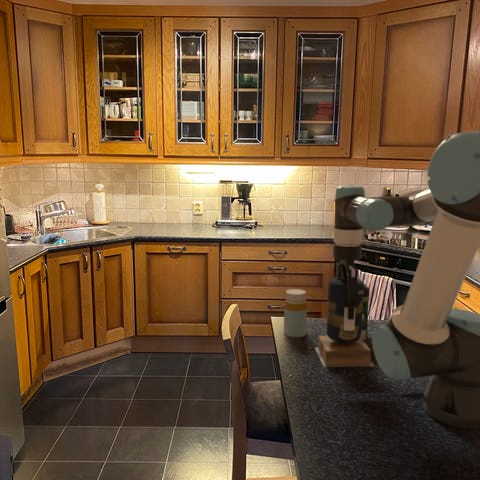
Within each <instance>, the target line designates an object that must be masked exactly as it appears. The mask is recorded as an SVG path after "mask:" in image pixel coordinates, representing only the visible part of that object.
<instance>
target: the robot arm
mask: <svg viewBox="0 0 480 480" xmlns="http://www.w3.org/2000/svg"><path fill="white" fill-rule="evenodd" d="M427 177H429V179H428V180H427V187H428V189H425V190H422V191H421V192H418V193H416V194H413V195H403V196H396V195H395V196H367V195H366V193H365V188H364V187H363V186H360V185H340V186H338V187H337V188H336V189H335V195H334V196H335V198H334V221H333V223H334V224H333V225H334V226H333V241H332V242H333V243H334V244H333V246H332V250H333V251H332V252H333V253H332V257H333V258H334V259H336V260H335V261H336V268H335V277H342V282H344V283H345V285H347V289H348V290H346V298H345V299H346V305H343V307H344V308H345V311H344V330H355V308H356V307H358V279H359V277H358V276H359V269H358V268H357V267H356V265H355V262H356V261H359V260H361V259H362V255H363V253H362V252H363V246H362V243H363V236H364V235H365V231H364V229H367V230H370V231H373V230H374V231H383V230H385V229H386V228H396V227H413V226H414V227H415V226H418V227H425V226H428V225H429V226H430V225H432V226H431V229H430V232H429V234H428V236H427V240H426V243H425V246H424V248H423V251H422V254H421V255H420V259H419V261H418V264H417V267H416V270H415V273H414V275H413V278H412V281H411V284H410V287H409V289H408V291H407V295H406V298H405V300H404V303H403V304H402V305H399V306H397V307H396V308H394V310H392V313H391V316H390V319H389V322H388V323H381V324H378V325H377V326H375V328H374V329H373V331H372V334H371V335H372V337H371V343H372V350H373V353H374V358H375V360H376V362H377V365H378V367H379V368H380V370H381V371H382V372H383V374H384V375H385V376H387V378H389V379H392V380H395V381H397V380H398V381H399V380H406V381H407V380H411V379H417V378H423V377H424V378H425V377H430V376H432V377H431V379H430V381H429V384H428V385H427V388H426V390H425V391H424V394H423V402H422V406H423V409H424V411H425V412H426V413H427V414H428V415H429V416H431V417H432V418H433V419H435V420H437V421H439V422H441V423H442V424H446V425H448V426H452V427H454V428H455V427H456V428H460V429H465V430H480V313H477V312H474V311H470V310H465V309H460V308H454V304H455V303H456V300H457V298H458V295H459V293H460V290H461V289H462V286H463V283H464V281H465V279H466V278H467V275H468V272H469V270H470V268H471V266H472V263H473V261H474V259H475V258H476V257H475V256H476V255H477V252H478V250H479V247H480V130H477V129H476V130H472V131H463V132H462V131H461V132H457V133H454V134H453V135H451V136H448V137H447V138H445V139H444V140H443V141H442V142H441V143H440V144H439V145H438V146H437V147H436V149H434V152H433V153H432V156H431V158H430V160H429V164H428V168H427ZM363 228H364V229H363ZM351 302H353V303H351Z"/></svg>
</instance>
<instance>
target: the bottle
mask: <svg viewBox="0 0 480 480" xmlns="http://www.w3.org/2000/svg"><path fill="white" fill-rule="evenodd" d="M306 292H307V291H306V290H304V289H302V288H289V289H286V291H285V303H284V306H283V307H284V311H283V312H284V313H283V314H284V315H283V316H284V317H283V334H284V335H285V336H287V337H290V338H301V337H305V336H306V335H307V323H308V322H307V316H308V313H307V312H308V306H307V302H306V300H307V299H306V298H307V296H306V295H307V293H306Z"/></svg>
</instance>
